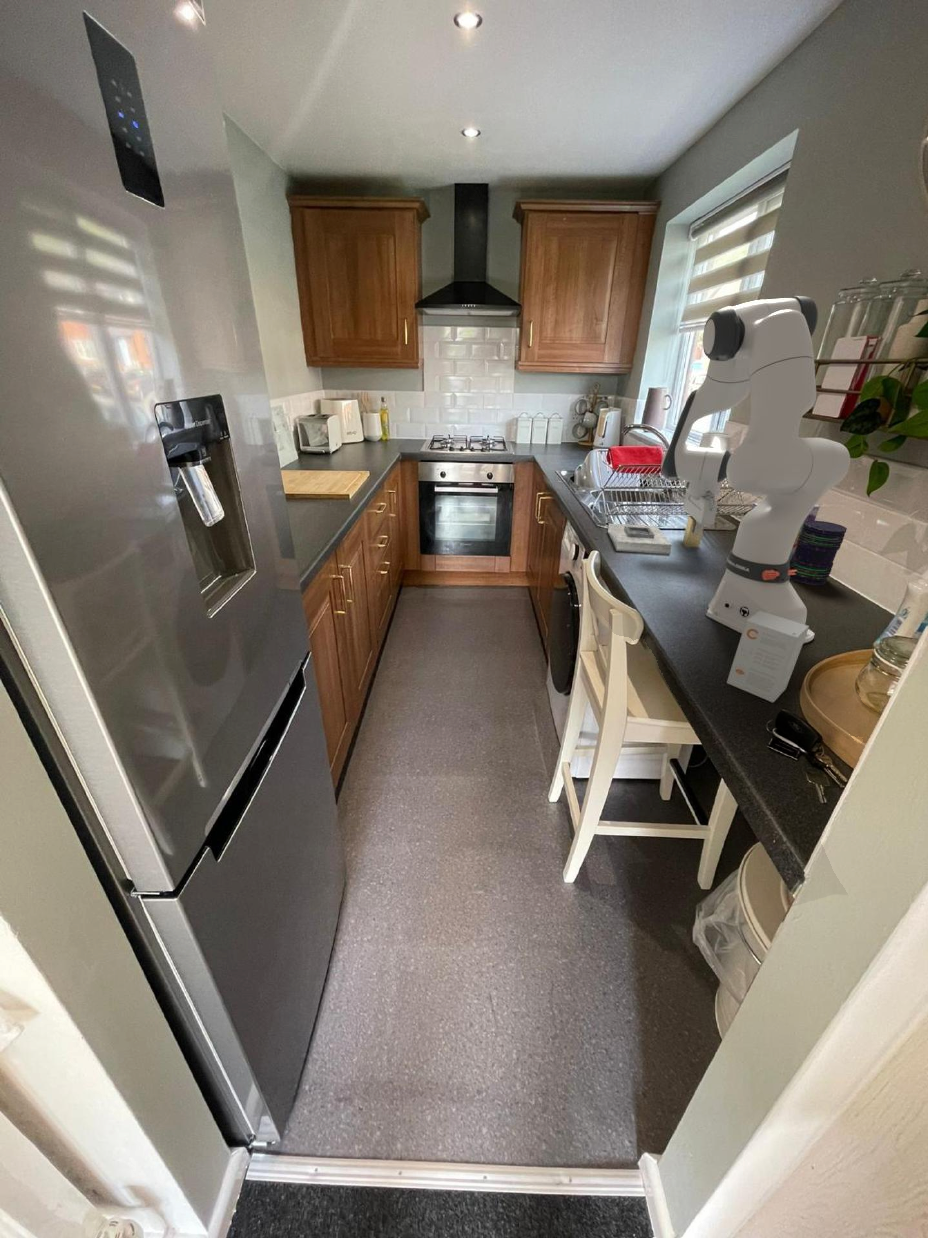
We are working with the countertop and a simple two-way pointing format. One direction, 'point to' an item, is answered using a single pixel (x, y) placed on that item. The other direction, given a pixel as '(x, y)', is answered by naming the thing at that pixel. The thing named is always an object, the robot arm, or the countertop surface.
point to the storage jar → (816, 551)
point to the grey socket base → (639, 539)
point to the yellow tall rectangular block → (691, 534)
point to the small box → (767, 655)
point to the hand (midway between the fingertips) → (693, 531)
